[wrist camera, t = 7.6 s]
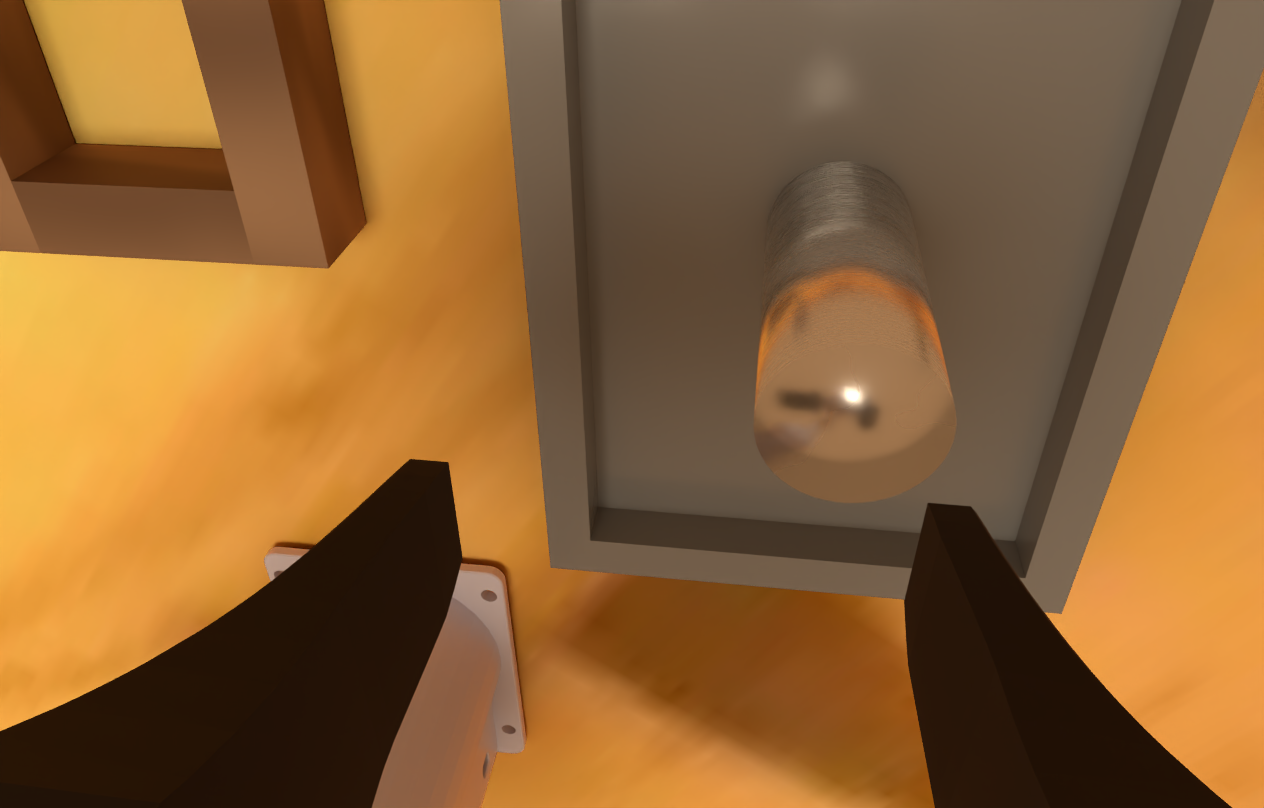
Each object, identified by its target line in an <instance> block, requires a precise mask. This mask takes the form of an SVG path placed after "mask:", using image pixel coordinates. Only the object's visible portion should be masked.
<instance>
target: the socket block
mask: <svg viewBox="0 0 1264 808" xmlns="http://www.w3.org/2000/svg"><path fill="white" fill-rule="evenodd" d="M182 3H183V7H184V10H185V14H186V18H187V21H188V25H189V29H190V32H191V36H192V40H193V43H194V47H195V50H196V54H197V58H198V61H199V65H200V69H201V72H202V76H203V80H204V83H205V87H206V90H207V94H208V98H209V101H210V105H211V109H212V112H213V116H214V119H215V123H216V127H217V130H218V134H219V138H220V141H221V145H222V149H200V148H174V147H148V146H122V145H96V144H75V141H74V139H73V136H72V133H71V131H70V128H69V125H68V122H67V120H66V117H65V114H64V112H63V109H62V106H61V103H60V101H59V98H58V95H57V93H56V90H55V87H54V84H53V82H52V79H51V76H50V74H49V71H48V68H47V65H46V63H45V60H44V57H43V55H42V52H41V49H40V46H39V44H38V41H37V38H36V36H35V33H34V30H33V27H32V25H31V22H30V19H29V16H28V14H27V11H26V8H25V6H24V3H23V0H0V251H12V252H31V253H50V254H68V255H87V256H106V257H124V258H143V259H162V260H180V261H199V262H218V263H236V264H255V265H274V266H292V267H311V268H329V267H330V266H331V265H332V264H333V262H334V261H335V260H336V259H337V258H338V257H339V255H340V254H341V253H342V252H343V251H344V250H345V248H346V247H347V246H348V245H349V244H350V243H351V241H352V240H353V239H354V238H355V237H356V235H357V234H358V233H359V232H360V231H361V230H362V228H363V227H364V226H365V225H366V220H365V215H364V209H363V204H362V199H361V194H360V189H359V184H358V178H357V173H356V168H355V163H354V158H353V152H352V147H351V142H350V137H349V132H348V126H347V121H346V116H345V111H344V106H343V101H342V95H341V90H340V85H339V80H338V75H337V69H336V64H335V59H334V54H333V49H332V43H331V38H330V33H329V28H328V23H327V18H326V12H325V7H324V2H323V0H182Z"/></svg>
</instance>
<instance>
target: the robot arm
mask: <svg viewBox="0 0 1264 808" xmlns="http://www.w3.org/2000/svg"><path fill="white" fill-rule="evenodd" d="M462 559H463V558H462V551H461V544H460V538H459V531H458V524H457V517H456V511H455V504H454V497H453V490H452V484H451V477H450V470H449V463H448V462H439V461H427V460H415V459H410V460H409V461H408V462H406V463H405V464H404V465H403V466H402V467H401V468H400V469H399V470H397V471H396V472H395V473H394V474H393V475H392V476H391V477H390V478H389V479H388V480H387V481H386V482H384V483H383V484H382V485H381V486H380V487H379V488H378V489H377V490H376V491H375V492H374V493H373V494H372V495H371V496H369V497H368V498H367V499H366V500H365V501H364V502H363V503H362V504H361V505H360V506H359V507H358V508H357V509H355V510H354V511H353V512H352V513H351V514H350V515H349V516H348V517H347V518H346V519H344V520H343V521H342V522H341V523H340V524H339V525H338V526H337V527H335V528H334V529H333V530H332V531H331V532H330V533H329V534H328V535H326V536H325V537H324V538H323V539H322V540H321V541H320V542H318V543H317V544H316V545H315V546H314V547H313V548H312V549H310V550H309V549H298V548H287V547H273V548H271V549H270V550H269V552H268V553H267V555H266V557H265V558H264V563H265V566H266V569H267V572H268V575H269V578H270V581H271V582H270V583H268V584H267V585H266V586H264V587H263V588H262V589H260V590H259V591H258V592H256V593H255V594H254V595H252V596H251V597H250V598H248V599H247V600H245V601H244V602H243V603H241V604H240V605H238V606H237V607H235V608H234V609H232V610H231V611H229V612H228V613H226V614H225V615H223V616H222V617H220V618H219V619H217V620H216V621H214V622H213V623H211V624H210V625H208V626H207V627H205V628H204V629H202V630H200V631H199V632H197V633H195V634H194V635H192V636H190V637H189V638H187V639H185V640H184V641H182V642H180V643H178V644H177V645H175V646H173V647H172V648H170V649H168V650H167V651H165V652H163V653H161V654H160V655H158V656H156V657H155V658H153V659H151V660H150V661H148V662H146V663H144V664H143V665H141V666H139V667H137V668H135V669H133V670H131V671H130V672H128V673H126V674H124V675H122V676H120V677H118V678H116V679H114V680H112V681H110V682H108V683H106V684H104V685H102V686H100V687H98V688H96V689H94V690H92V691H90V692H88V693H86V694H84V695H82V696H80V697H78V698H76V699H74V700H71V701H69V702H67V703H65V704H63V705H61V706H58V707H56V708H54V709H52V710H49V711H47V712H45V713H42V714H40V715H38V716H35V717H33V718H31V719H28V720H26V721H24V722H21V723H19V724H16V725H14V726H12V727H9V728H7V729H5V730H2V731H0V808H481V806H482V802H483V799H484V795H485V792H486V788H487V785H488V781H489V778H490V774H491V771H492V767H493V764H494V760H495V757H496V753H497V752H504V753H519V752H522V751H523V750H524V748H525V744H526V732H525V725H524V717H523V709H522V702H521V694H520V686H519V679H518V671H517V663H516V656H515V648H514V640H513V633H512V625H511V617H510V610H509V602H508V594H507V587H506V579H505V576H504V574H503V573H502V572H501V571H500V570H499V569H497V568H495V567H492V566H486V565H475V564H464V563H461V562H462ZM488 590H490V591H493V592H494V593H493V592H489V591H488ZM904 605H905V624H906V641H907V655H908V666H909V672H910V677H911V683H912V688H913V694H914V699H915V705H916V710H917V715H918V721H919V726H920V731H921V736H922V742H923V747H924V752H925V757H926V763H927V768H928V773H929V778H930V784H931V789H932V794H933V799H934V805H935V808H1232V807H1231V806H1229V805H1228V804H1227V803H1226V802H1225V801H1224V800H1222V799H1221V798H1220V797H1219V796H1218V795H1216V794H1215V793H1214V792H1213V791H1212V790H1210V789H1209V788H1208V787H1207V786H1206V785H1205V784H1204V783H1203V782H1202V781H1200V780H1199V779H1198V778H1197V777H1196V776H1195V775H1194V774H1193V773H1192V772H1190V771H1189V770H1188V769H1187V768H1186V767H1185V766H1184V765H1183V764H1181V763H1180V762H1179V761H1178V760H1177V759H1176V758H1175V757H1174V756H1173V755H1171V754H1170V753H1169V752H1168V751H1167V750H1166V749H1165V748H1164V747H1163V746H1162V745H1161V744H1160V743H1159V742H1158V741H1157V740H1155V739H1154V738H1153V737H1152V736H1151V735H1150V734H1149V733H1148V732H1147V731H1146V730H1145V729H1144V728H1143V727H1142V726H1141V725H1140V724H1139V723H1138V722H1137V721H1136V720H1135V719H1134V718H1133V717H1132V715H1131V714H1130V713H1129V712H1128V711H1127V710H1126V709H1125V708H1124V707H1123V706H1122V705H1121V704H1120V703H1119V702H1118V701H1117V700H1116V699H1115V698H1114V697H1113V695H1112V694H1111V693H1110V692H1109V691H1108V690H1107V689H1106V688H1105V687H1104V685H1103V684H1102V683H1101V682H1100V681H1099V680H1098V679H1097V677H1096V676H1095V675H1094V674H1093V673H1092V672H1091V670H1090V669H1089V668H1088V667H1087V666H1086V664H1085V663H1084V662H1083V661H1082V660H1081V658H1080V657H1079V656H1078V655H1077V654H1076V652H1075V651H1074V650H1073V649H1072V648H1071V646H1070V645H1069V644H1068V643H1067V641H1066V640H1065V639H1064V638H1063V636H1062V635H1061V634H1060V632H1059V631H1058V630H1057V629H1056V627H1055V626H1054V625H1053V623H1052V622H1051V621H1050V619H1049V618H1048V617H1047V615H1046V614H1045V613H1044V611H1043V610H1042V609H1041V607H1040V606H1039V605H1038V603H1037V602H1036V601H1035V599H1034V598H1033V596H1032V595H1031V594H1030V592H1029V591H1028V590H1027V588H1026V587H1025V585H1024V584H1023V583H1022V581H1021V580H1020V578H1019V577H1018V575H1017V574H1016V572H1015V571H1014V569H1013V568H1012V567H1011V565H1010V564H1009V562H1008V561H1007V559H1006V558H1005V556H1004V555H1003V553H1002V552H1001V550H1000V549H999V547H998V546H997V544H996V542H995V541H994V539H993V538H992V536H991V535H990V533H989V532H988V530H987V528H986V527H985V525H984V524H983V522H982V521H981V519H980V517H979V516H978V514H977V513H976V512H975V510H974V509H973V508H972V507H971V506H961V505H949V504H937V503H928V504H927V508H926V512H925V516H924V520H923V524H922V529H921V533H920V537H919V541H918V545H917V550H916V554H915V558H914V562H913V566H912V570H911V575H910V579H909V583H908V587H907V591H906V595H905V600H904Z"/></svg>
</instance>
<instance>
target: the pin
mask: <svg viewBox="0 0 1264 808" xmlns="http://www.w3.org/2000/svg"><path fill="white" fill-rule="evenodd" d="M956 422H957V419H956V410H955V405H954V401H953V396H952V392H951V388H950V383H949V379H948V374H947V370H946V365H945V361H944V357H943V352H942V348H941V343H940V339H939V335H938V330H937V326H936V321H935V317H934V312H933V308H932V304H931V299H930V295H929V290H928V286H927V282H926V277H925V273H924V268H923V264H922V259H921V255H920V251H919V246H918V242H917V237H916V233H915V229H914V224H913V220H912V215H911V211H910V208H909V204H908V201H907V199H906V197H905V195H904V193H903V192H902V190H901V189H900V187H899V186H898V185H897V184H896V183H895V182H894V181H893V180H892V179H891V178H890V177H889V176H887V175H886V174H884V173H883V172H881V171H880V170H878V169H875V168H873V167H871V166H868V165H865V164H861V163H855V162H842V161H841V162H831V163H826V164H821V165H819V166H816V167H813V168H811V169H808V170H806V171H804V172H803V173H801V174H799V175H798V176H796V177H795V178H794V179H793V180H791V181H790V182H789V183H788V184H787V185H786V186H785V187H784V188H783V189H782V190H781V192H780V193H779V195H778V196H777V197H776V199H775V201H774V203H773V205H772V207H771V210H770V213H769V217H768V222H767V234H766V249H765V264H764V278H763V293H762V308H761V322H760V337H759V352H758V366H757V381H756V396H755V410H754V425H753V427H754V437H755V441H756V445H757V448H758V450H759V452H760V455H761V456H762V458H763V460H764V461H765V463H766V464H767V466H768V467H769V468H770V469H771V470H772V472H773V473H774V474H775V475H777V476H778V477H779V478H780V479H781V480H782V481H784V482H785V483H787V484H788V485H789V486H791V487H793V488H795V489H796V490H798V491H800V492H802V493H805V494H807V495H810V496H812V497H816V498H819V499H823V500H827V501H833V502H842V503H863V502H872V501H877V500H882V499H886V498H889V497H893V496H896V495H898V494H901V493H903V492H905V491H908V490H909V489H911V488H913V487H915V486H916V485H918V484H920V483H921V482H922V481H924V480H925V479H926V478H928V477H929V476H930V475H931V474H932V473H933V472H934V471H935V470H936V469H937V468H938V467H939V466H940V465H941V463H942V462H943V461H944V459H945V458H946V456H947V454H948V453H949V451H950V449H951V446H952V444H953V441H954V437H955V433H956Z"/></svg>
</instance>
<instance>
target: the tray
mask: <svg viewBox="0 0 1264 808" xmlns="http://www.w3.org/2000/svg"><path fill="white" fill-rule="evenodd" d="M500 9H501V21H502V32H503V43H504V54H505V65H506V76H507V87H508V99H509V110H510V121H511V132H512V143H513V154H514V165H515V176H516V188H517V199H518V210H519V221H520V232H521V243H522V254H523V266H524V277H525V288H526V299H527V310H528V321H529V332H530V344H531V355H532V366H533V377H534V388H535V399H536V410H537V421H538V433H539V444H540V455H541V466H542V477H543V488H544V499H545V511H546V522H547V533H548V544H549V555H550V566H551V568H561V569H572V570H583V571H594V572H605V573H616V574H627V575H638V576H649V577H660V578H671V579H682V580H694V581H705V582H716V583H727V584H738V585H749V586H760V587H771V588H782V589H793V590H804V591H815V592H827V593H838V594H849V595H860V596H871V597H882V598H893V599H904V600H905V595H906V591H907V587H908V583H909V579H910V575H911V570H912V566H913V562H914V558H915V554H916V550H917V545H918V541H919V537H920V533H921V529H922V524H923V520H924V516H925V512H926V508H927V504H928V503H937V504H949V505H961V506H971V507H972V508H973V509H974V510H975V512H976V513H977V514H978V516H979V517H980V519H981V521H982V522H983V524H984V525H985V527H986V528H987V530H988V532H989V533H990V535H991V536H992V538H993V539H994V541H995V542H996V544H997V546H998V547H999V549H1000V550H1001V552H1002V553H1003V555H1004V556H1005V558H1006V559H1007V561H1008V562H1009V564H1010V565H1011V567H1012V568H1013V569H1014V571H1015V572H1016V574H1017V575H1018V577H1019V578H1020V580H1021V581H1022V583H1023V584H1024V585H1025V587H1026V588H1027V590H1028V591H1029V592H1030V594H1031V595H1032V596H1033V598H1034V599H1035V601H1036V602H1037V603H1038V605H1039V606H1040V607H1041V609H1042V610H1043V611H1044V612H1048V613H1059V614H1062V611H1063V608H1064V606H1065V603H1066V600H1067V598H1068V595H1069V592H1070V590H1071V587H1072V584H1073V581H1074V579H1075V576H1076V573H1077V571H1078V568H1079V565H1080V563H1081V560H1082V557H1083V554H1084V552H1085V549H1086V546H1087V544H1088V541H1089V538H1090V536H1091V533H1092V530H1093V527H1094V525H1095V522H1096V519H1097V517H1098V514H1099V511H1100V509H1101V506H1102V503H1103V500H1104V498H1105V495H1106V492H1107V490H1108V487H1109V484H1110V482H1111V479H1112V476H1113V473H1114V471H1115V468H1116V465H1117V463H1118V460H1119V457H1120V455H1121V452H1122V449H1123V446H1124V444H1125V441H1126V438H1127V436H1128V433H1129V430H1130V428H1131V425H1132V422H1133V419H1134V417H1135V414H1136V411H1137V409H1138V406H1139V403H1140V401H1141V398H1142V395H1143V392H1144V390H1145V387H1146V384H1147V382H1148V379H1149V376H1150V373H1151V371H1152V368H1153V365H1154V363H1155V360H1156V357H1157V355H1158V352H1159V349H1160V346H1161V344H1162V341H1163V338H1164V336H1165V333H1166V330H1167V328H1168V325H1169V322H1170V319H1171V317H1172V314H1173V311H1174V309H1175V306H1176V303H1177V301H1178V298H1179V295H1180V292H1181V290H1182V287H1183V284H1184V282H1185V279H1186V276H1187V274H1188V271H1189V268H1190V265H1191V263H1192V260H1193V257H1194V255H1195V252H1196V249H1197V247H1198V244H1199V241H1200V238H1201V236H1202V233H1203V230H1204V228H1205V225H1206V222H1207V220H1208V217H1209V214H1210V211H1211V209H1212V206H1213V203H1214V201H1215V198H1216V195H1217V193H1218V190H1219V187H1220V184H1221V182H1222V179H1223V176H1224V174H1225V171H1226V168H1227V166H1228V163H1229V160H1230V157H1231V155H1232V152H1233V149H1234V147H1235V144H1236V141H1237V139H1238V136H1239V133H1240V130H1241V128H1242V125H1243V122H1244V120H1245V117H1246V114H1247V112H1248V109H1249V106H1250V103H1251V101H1252V98H1253V95H1254V93H1255V90H1256V87H1257V85H1258V82H1259V79H1260V76H1261V74H1262V71H1263V68H1264V0H500ZM841 161H842V162H855V163H861V164H865V165H868V166H871V167H873V168H875V169H878V170H880V171H881V172H883V173H884V174H886V175H887V176H889V177H890V178H891V179H892V180H893V181H894V182H895V183H896V184H897V185H898V186H899V187H900V189H901V190H902V192H903V193H904V195H905V197H906V199H907V201H908V204H909V208H910V211H911V215H912V220H913V224H914V229H915V233H916V237H917V242H918V246H919V251H920V255H921V259H922V264H923V268H924V273H925V277H926V282H927V286H928V290H929V295H930V299H931V304H932V308H933V312H934V317H935V321H936V326H937V330H938V335H939V339H940V343H941V348H942V352H943V357H944V361H945V365H946V370H947V374H948V379H949V383H950V388H951V392H952V396H953V401H954V405H955V410H956V419H957V422H956V433H955V437H954V441H953V444H952V446H951V449H950V451H949V453H948V454H947V456H946V458H945V459H944V461H943V462H942V463H941V465H940V466H939V467H938V468H937V469H936V470H935V471H934V472H933V473H932V474H931V475H930V476H929V477H928V478H926V479H925V480H924V481H922V482H921V483H920V484H918V485H916V486H915V487H913V488H911V489H909V490H908V491H905V492H903V493H901V494H898V495H896V496H893V497H889V498H886V499H882V500H877V501H872V502H863V503H842V502H833V501H827V500H823V499H819V498H816V497H812V496H810V495H807V494H805V493H802V492H800V491H798V490H796V489H795V488H793V487H791V486H789V485H788V484H787V483H785V482H784V481H782V480H781V479H780V478H779V477H778V476H777V475H775V474H774V473H773V472H772V470H771V469H770V468H769V467H768V466H767V464H766V463H765V461H764V460H763V458H762V456H761V455H760V452H759V450H758V448H757V445H756V441H755V437H754V427H753V425H754V410H755V396H756V381H757V366H758V352H759V337H760V322H761V308H762V293H763V278H764V264H765V249H766V234H767V222H768V217H769V213H770V210H771V207H772V205H773V203H774V201H775V199H776V197H777V196H778V195H779V193H780V192H781V190H782V189H783V188H784V187H785V186H786V185H787V184H788V183H789V182H790V181H791V180H793V179H794V178H795V177H796V176H798V175H799V174H801V173H803V172H804V171H806V170H808V169H811V168H813V167H816V166H819V165H821V164H826V163H831V162H841Z"/></svg>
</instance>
